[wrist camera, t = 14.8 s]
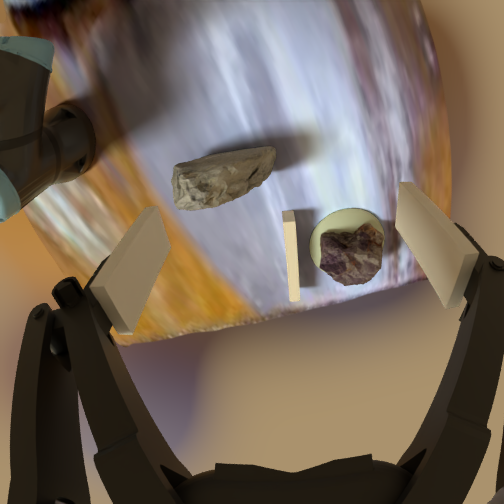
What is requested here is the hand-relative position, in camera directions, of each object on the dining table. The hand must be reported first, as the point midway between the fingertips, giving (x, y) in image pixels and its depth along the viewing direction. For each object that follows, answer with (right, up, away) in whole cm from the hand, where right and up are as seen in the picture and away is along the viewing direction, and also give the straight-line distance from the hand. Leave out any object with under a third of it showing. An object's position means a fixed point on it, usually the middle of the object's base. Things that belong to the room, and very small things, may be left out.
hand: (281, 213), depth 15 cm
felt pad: (+17, 0, +38) cm, 42 cm away
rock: (+16, 0, +37) cm, 41 cm away
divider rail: (+6, -2, +40) cm, 40 cm away
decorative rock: (-6, +13, +30) cm, 34 cm away
